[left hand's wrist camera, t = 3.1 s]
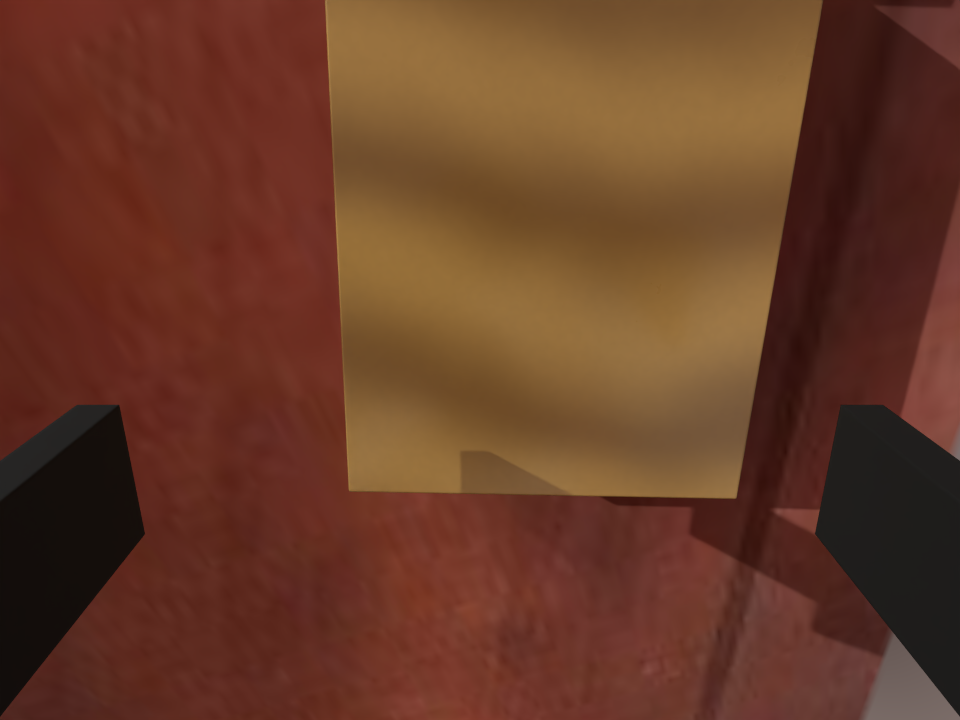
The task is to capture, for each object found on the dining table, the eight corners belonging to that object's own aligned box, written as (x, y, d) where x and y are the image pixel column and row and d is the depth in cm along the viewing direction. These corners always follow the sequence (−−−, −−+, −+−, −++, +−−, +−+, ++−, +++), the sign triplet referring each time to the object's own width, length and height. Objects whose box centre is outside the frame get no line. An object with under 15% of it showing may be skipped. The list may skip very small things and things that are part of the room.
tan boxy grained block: (371, -114, 21) (313, -239, 13) (727, -103, 21) (863, -222, 14) (384, 386, 27) (348, 492, 19) (665, 392, 27) (737, 499, 19)
